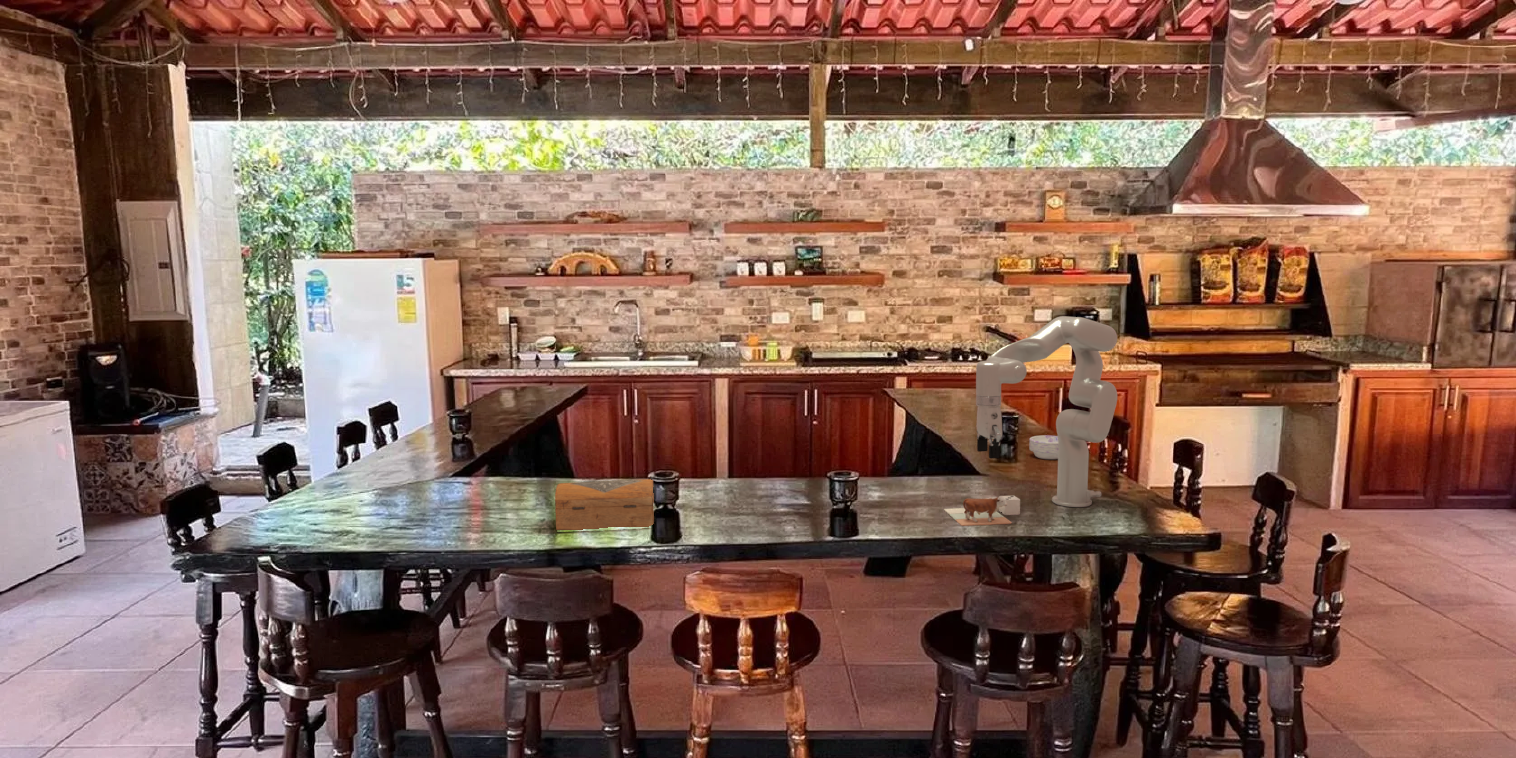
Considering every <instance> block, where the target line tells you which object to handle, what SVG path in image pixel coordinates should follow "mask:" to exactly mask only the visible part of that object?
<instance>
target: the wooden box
mask: <svg viewBox="0 0 1516 758" xmlns="http://www.w3.org/2000/svg"><path fill="white" fill-rule="evenodd" d="M653 487H654V480H653V479H652V480H651V478H649V479H616V480H615V479H614V480H595V481H594V480H593V481H590V480H589V481H581V482H580V481H579V482H578V481H577V482H562V483H558V484H557V485H556V487H555V495H554V507H555V512H554V513H555V529H556V530H583V529H599V528H608V527H649V526H651V525H653V524H654V525H655V523H654V522H655V516H654V510H655V509H654V505H655V503H654V502H655V501H654V500H655V498H654V497H655V495H654V494H655V493H653Z"/></svg>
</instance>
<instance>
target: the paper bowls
mask: <svg viewBox="0 0 1516 758" xmlns="http://www.w3.org/2000/svg"><path fill="white" fill-rule="evenodd" d="M1028 446H1029V451H1031V452H1033V454H1034V456H1035V457H1036V458H1039V459H1040V460H1041V459H1042V460H1058V449H1059V446H1058V435H1051V434H1050V435H1048V434H1047V435H1046V434H1044V435H1034V436H1031V437H1030V438H1029V445H1028Z"/></svg>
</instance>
